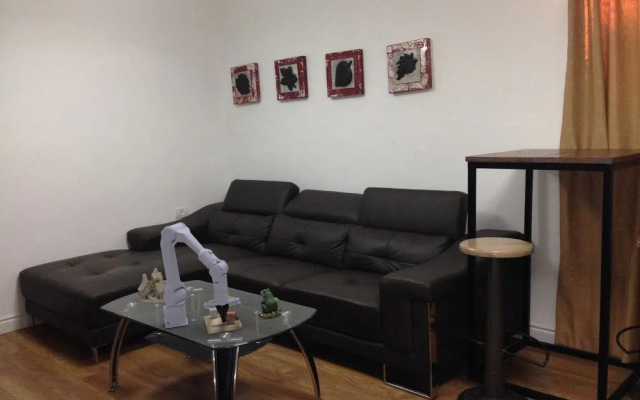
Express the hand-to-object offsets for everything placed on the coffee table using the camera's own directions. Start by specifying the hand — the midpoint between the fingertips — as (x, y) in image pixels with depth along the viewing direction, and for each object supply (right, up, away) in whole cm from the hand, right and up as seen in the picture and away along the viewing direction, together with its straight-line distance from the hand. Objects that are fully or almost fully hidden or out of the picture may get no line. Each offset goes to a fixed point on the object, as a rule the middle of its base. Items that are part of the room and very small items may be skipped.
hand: (223, 321), depth 229 cm
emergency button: (-5, +1, +30) cm, 30 cm away
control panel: (-1, -2, +5) cm, 6 cm away
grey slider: (-6, 0, +9) cm, 11 cm away
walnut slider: (+3, -1, +1) cm, 3 cm away
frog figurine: (+19, 0, +14) cm, 23 cm away
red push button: (+2, 0, +6) cm, 7 cm away
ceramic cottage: (-42, +1, +46) cm, 62 cm away
